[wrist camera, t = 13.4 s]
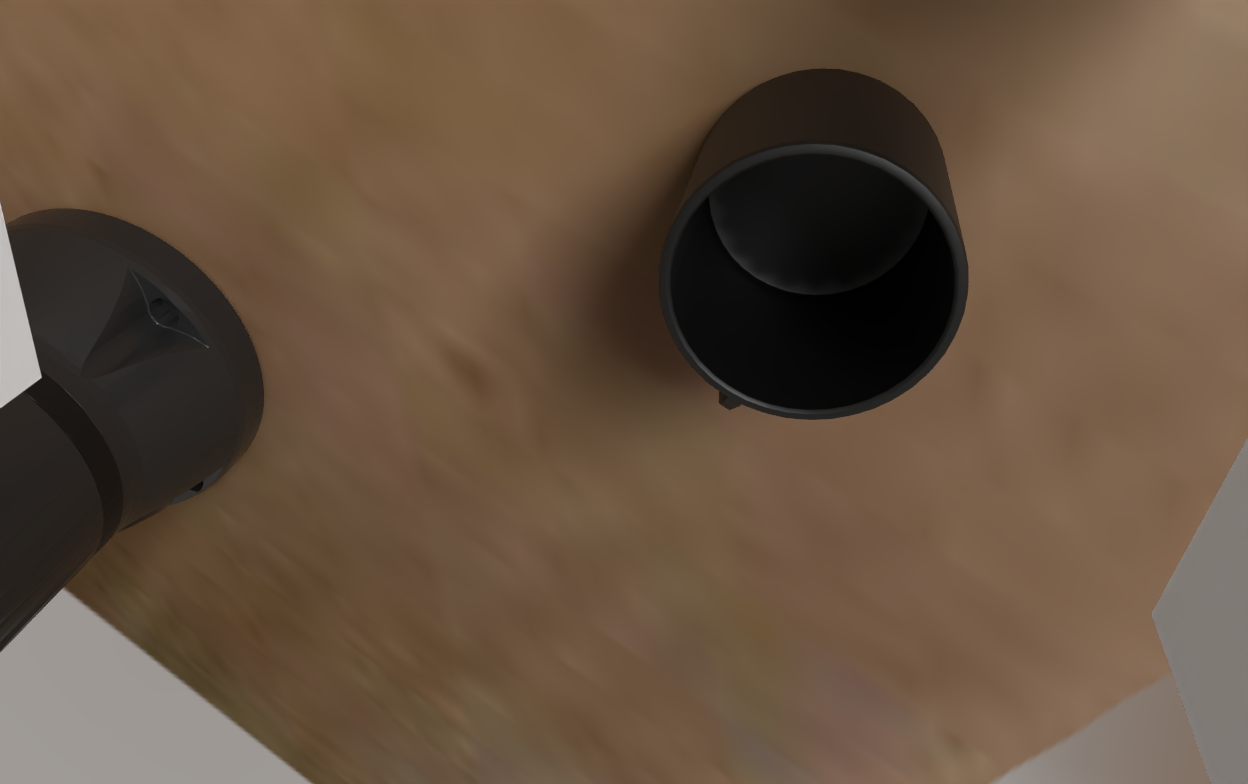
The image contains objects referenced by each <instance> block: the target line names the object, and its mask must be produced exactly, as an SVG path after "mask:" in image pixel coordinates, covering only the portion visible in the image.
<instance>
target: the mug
mask: <svg viewBox="0 0 1248 784" xmlns="http://www.w3.org/2000/svg"><path fill="white" fill-rule="evenodd" d="M659 294H660V301H661V307H662V312H663V315H664V318H665V321H666V324H667V326H668V329H669V331H670V334H671V336H672V338H673V340H674V341H675V343H676V345H677V347H678V349H679V351H680V352H681V353H682V355H683V356H684V357H685V359H686V360H687V361H688V363H689V364H690V365H691V366H692V367H693V369H694V370H695V371H696V372H697V373H698V374H699V375H700V376H701V377H702V378H703V379H704V380H705V381H706V382H708V383H709V384H710V385H712V386H713V387H714V388H716V389H717V390H719V403H720V404H721V405H722V406H724V407H725V408H727V409H729V410H731V409H733V408H736V407H738V406H740V405H741V404H742V405H745V406H747V407H750V408H753V409H755V410H758V411H761V412H764V413H767V414H772V415H776V416H780V417H785V418H794V419H807V420H816V419H833V418H839V417H845V416H850V415H854V414H858V413H861V412H864V411H868V410H871V409H874V408H876V407H878V406H880V405H883V404H885V403H887V402H889V401H891V400H893V399H895V398H896V397H898V396H900V395H901V394H903V393H904V392H906V391H907V390H909V389H910V388H912V387H913V386H914V385H916V384H917V383H918V382H919V381H920V380H921V379H922V378H923V377H925V376H926V375H927V374H928V373H929V372H930V371H931V370H932V369H933V368H934V366H935V365H936V364H937V363H938V361H939V360H940V359H941V358H942V357H943V355H944V354H945V353H946V351H947V349H948V347H949V346H950V344H951V342H952V340H953V339H954V337H955V335H956V333H957V331H958V328H959V325H960V323H961V320H962V317H963V315H964V311H965V306H966V300H967V295H968V262H967V257H966V251H965V246H964V242H963V238H962V233H961V229H960V225H959V220H958V216H957V212H956V207H955V203H954V199H953V194H952V190H951V185H950V181H949V177H948V172H947V168H946V164H945V159H944V156H943V152H942V149H941V146H940V144H939V141H938V138H937V136H936V134H935V133H934V131H933V129H932V128H931V126H930V124H929V122H928V121H927V120H926V118H925V117H924V116H923V114H922V113H921V112H920V111H919V110H918V109H917V107H916V106H915V105H914V104H913V103H912V102H910V101H909V100H908V99H907V98H906V97H904V96H903V95H902V94H901V93H899V92H898V91H896V90H895V89H893V88H892V87H890V86H888V85H886V84H885V83H883V82H881V81H879V80H877V79H874V78H871V77H869V76H866V75H863V74H859V73H856V72H850V71H845V70H840V69H811V70H803V71H796V72H793V73H789V74H786V75H782V76H779V77H777V78H774V79H772V80H770V81H767V82H765V83H763V84H761V85H759V86H757V87H756V88H754V89H753V90H751V91H750V92H748V93H747V94H745V95H744V96H742V97H741V98H740V99H739V100H737V101H736V102H735V103H734V104H733V105H732V106H731V107H730V108H729V109H728V110H727V111H726V112H725V113H724V114H723V116H722V117H721V118H720V119H719V121H718V122H717V123H716V125H715V126H714V128H713V129H712V131H711V132H710V134H709V136H708V138H707V140H706V141H705V143H704V146H703V148H702V150H701V153H700V155H699V158H698V160H697V163H696V165H695V167H694V170H693V172H692V175H691V177H690V180H689V182H688V184H687V187H686V189H685V192H684V194H683V197H682V199H681V201H680V204H679V206H678V209H677V211H676V213H675V216H674V218H673V221H672V223H671V226H670V228H669V231H668V234H667V237H666V239H665V242H664V246H663V249H662V254H661V260H660V265H659Z"/></svg>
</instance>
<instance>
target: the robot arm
mask: <svg viewBox="0 0 1248 784" xmlns="http://www.w3.org/2000/svg"><path fill="white" fill-rule="evenodd" d="M263 400H264V392H263V381H262V374H261V370H260V365H259V362H258V358H257V355H256V352H255V349H254V347H253V344H252V342H251V340H250V337H249V335H248V333H247V331H246V329H245V327H244V325H243V323H242V322H241V320H240V318H239V317H238V315H237V313H236V312H235V310H234V309H233V308H232V306H231V305H230V303H229V302H228V300H227V299H226V298H225V297H224V295H223V294H222V293H221V291H220V290H219V289H218V288H217V287H216V286H215V285H214V283H213V282H212V281H211V280H210V279H209V278H208V277H207V276H206V275H205V274H204V273H203V272H202V271H201V270H200V269H199V268H198V267H197V266H196V265H194V264H193V263H192V262H191V261H190V260H189V259H187V258H186V257H185V256H184V255H183V254H181V253H180V252H179V251H177V250H176V249H174V248H173V247H172V246H170V245H169V244H167V243H166V242H164V241H163V240H161V239H159V238H158V237H156V236H154V235H153V234H151V233H149V232H147V231H145V230H143V229H141V228H139V227H137V226H135V225H133V224H130V223H128V222H126V221H123V220H120V219H118V218H115V217H112V216H108V215H105V214H101V213H97V212H92V211H86V210H80V209H48V210H42V211H37V212H34V213H30V214H27V215H24V216H22V217H19V218H18V219H16V220H14V221H12V222H10V223H8V224H6V225H5V221H4V217H3V213H2V209H1V205H0V652H1V651H2V650H3V649H4V648H5V647H6V646H7V645H8V644H9V643H10V642H11V641H12V640H13V639H14V638H15V637H16V636H17V635H18V634H19V633H20V632H21V631H22V629H23V628H24V627H25V626H26V625H27V624H28V623H29V622H30V621H31V620H32V619H33V618H34V617H35V616H36V615H37V614H38V613H39V612H40V611H41V610H42V609H43V608H44V607H45V606H46V605H47V604H48V602H50V601H51V599H52V598H53V597H54V596H55V595H56V594H57V593H58V592H59V591H60V590H61V589H62V588H63V587H64V586H65V585H66V584H67V583H68V582H69V581H70V580H71V579H72V578H73V577H74V576H75V575H76V574H77V573H78V572H79V570H80V569H81V568H82V567H83V566H84V565H85V564H86V563H87V562H88V561H89V560H90V559H91V558H92V557H93V556H94V555H95V554H96V553H97V552H98V551H99V550H100V549H101V548H102V547H103V546H104V545H105V544H106V543H107V542H108V540H109V539H110V538H111V537H112V536H113V535H115V534H116V533H118V532H120V531H122V530H124V529H126V528H128V527H130V526H133V525H135V524H137V523H139V522H141V521H143V520H145V519H147V518H149V517H151V516H152V515H154V514H156V513H158V512H159V511H161V510H163V509H164V508H166V507H167V506H168V505H170V504H174V503H178V502H181V501H184V500H186V499H188V498H191V497H193V496H195V495H197V494H199V493H201V492H202V491H204V490H206V489H207V488H209V487H210V486H211V485H213V484H214V483H215V482H217V481H218V480H219V479H220V478H221V477H222V476H223V475H224V474H225V473H226V472H227V471H228V470H229V468H230V467H231V466H232V465H233V464H234V463H235V462H236V461H237V460H238V459H239V457H240V456H241V455H242V454H243V453H244V452H245V451H246V450H247V448H248V447H249V445H250V444H251V442H252V441H253V439H254V437H255V435H256V433H257V430H258V428H259V425H260V421H261V417H262V412H263ZM1151 615H1152V618H1153V621H1154V623H1155V626H1156V629H1157V632H1158V635H1159V638H1160V640H1161V643H1162V646H1163V649H1164V652H1165V655H1166V658H1167V660H1168V663H1169V666H1170V669H1171V672H1172V675H1173V677H1174V680H1175V683H1176V686H1177V689H1178V692H1179V694H1180V697H1181V700H1182V703H1183V706H1184V709H1185V711H1186V714H1187V717H1188V720H1189V723H1190V726H1191V728H1192V731H1193V734H1194V737H1195V740H1196V742H1197V745H1198V748H1199V751H1200V754H1201V757H1202V760H1203V763H1204V765H1205V768H1206V771H1207V774H1208V777H1209V779H1210V782H1211V784H1248V438H1247V440H1246V442H1245V444H1244V445H1243V447H1242V449H1241V451H1240V453H1239V454H1238V456H1237V458H1236V460H1235V462H1234V464H1233V465H1232V467H1231V469H1230V471H1229V473H1228V475H1227V476H1226V478H1225V480H1224V482H1223V484H1222V485H1221V487H1220V489H1219V491H1218V493H1217V495H1216V496H1215V498H1214V500H1213V502H1212V504H1211V506H1210V507H1209V509H1208V511H1207V513H1206V515H1205V516H1204V518H1203V520H1202V522H1201V524H1200V526H1199V527H1198V529H1197V531H1196V533H1195V535H1194V537H1193V538H1192V540H1191V542H1190V544H1189V546H1188V547H1187V549H1186V551H1185V553H1184V555H1183V557H1182V558H1181V560H1180V562H1179V564H1178V566H1177V568H1176V569H1175V571H1174V573H1173V575H1172V577H1171V578H1170V580H1169V582H1168V584H1167V586H1166V588H1165V589H1164V591H1163V593H1162V595H1161V597H1160V599H1159V600H1158V602H1157V604H1156V606H1155V608H1154V609H1153V611H1152V613H1151Z"/></svg>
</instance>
